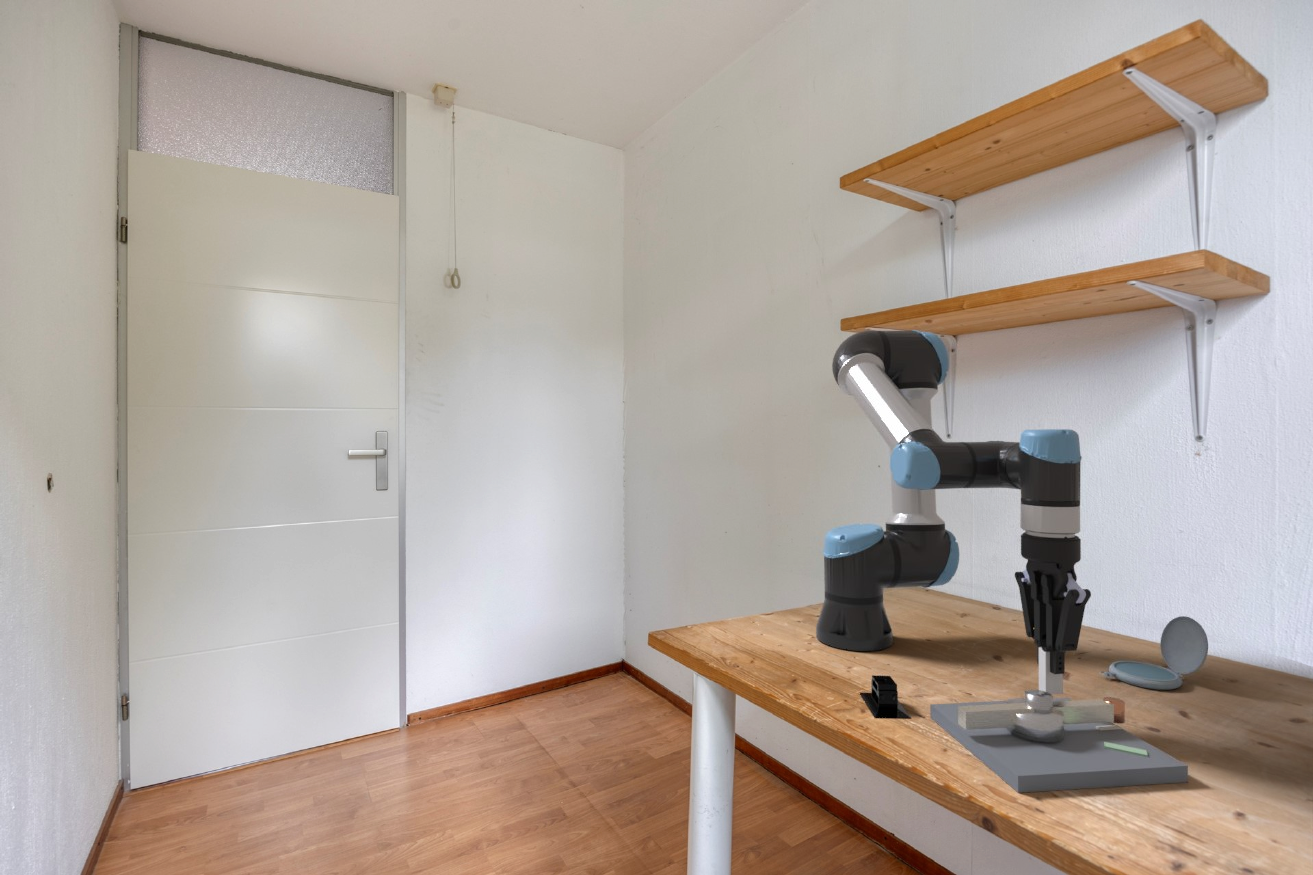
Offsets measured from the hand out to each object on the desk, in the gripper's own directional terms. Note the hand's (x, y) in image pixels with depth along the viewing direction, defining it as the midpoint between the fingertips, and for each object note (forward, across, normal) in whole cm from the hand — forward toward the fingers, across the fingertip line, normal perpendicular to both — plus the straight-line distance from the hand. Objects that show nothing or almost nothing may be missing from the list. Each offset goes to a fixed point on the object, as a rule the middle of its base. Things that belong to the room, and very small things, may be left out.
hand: (1050, 692), depth 94 cm
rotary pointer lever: (+2, -7, +6) cm, 10 cm away
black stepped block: (+5, +8, +22) cm, 24 cm away
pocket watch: (+5, +13, -27) cm, 31 cm away
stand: (+4, -7, +6) cm, 10 cm away
